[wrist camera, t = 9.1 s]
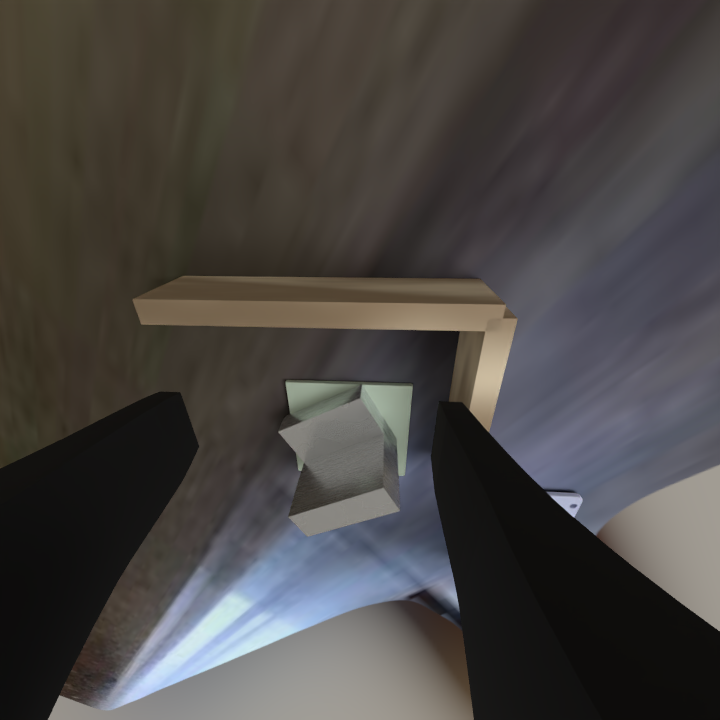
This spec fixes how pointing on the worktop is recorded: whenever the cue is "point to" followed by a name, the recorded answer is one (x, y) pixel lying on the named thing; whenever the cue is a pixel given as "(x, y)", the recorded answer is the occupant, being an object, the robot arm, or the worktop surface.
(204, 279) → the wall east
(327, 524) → the bracket
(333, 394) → the pad
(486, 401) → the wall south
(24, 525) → the robot arm
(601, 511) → the worktop surface
